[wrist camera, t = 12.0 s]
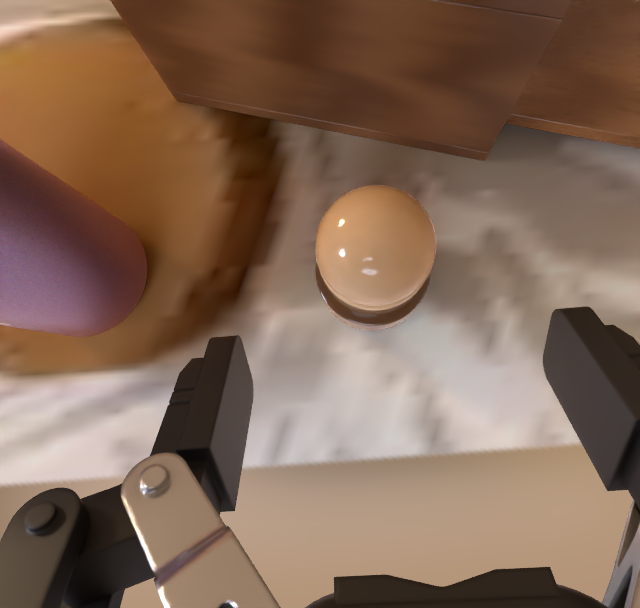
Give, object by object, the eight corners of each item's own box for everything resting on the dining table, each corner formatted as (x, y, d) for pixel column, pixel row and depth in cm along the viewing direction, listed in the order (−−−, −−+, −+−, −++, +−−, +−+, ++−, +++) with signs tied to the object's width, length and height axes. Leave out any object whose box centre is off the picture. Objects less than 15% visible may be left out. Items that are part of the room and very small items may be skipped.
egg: (308, 316, 22) (281, 284, 14) (333, 219, 22) (320, 140, 15) (411, 342, 21) (438, 322, 14) (434, 241, 22) (472, 171, 14)
